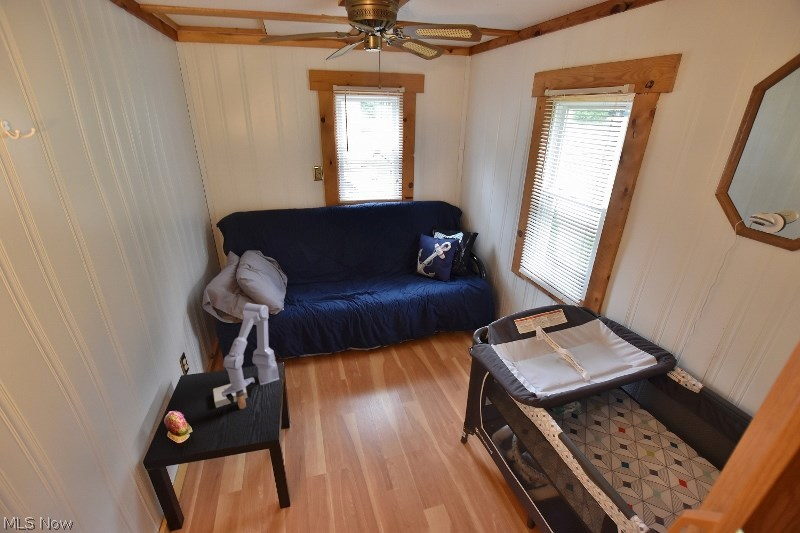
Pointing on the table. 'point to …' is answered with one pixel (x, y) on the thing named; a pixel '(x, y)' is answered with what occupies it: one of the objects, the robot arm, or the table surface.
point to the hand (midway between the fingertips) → (241, 400)
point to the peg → (241, 399)
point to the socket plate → (224, 401)
